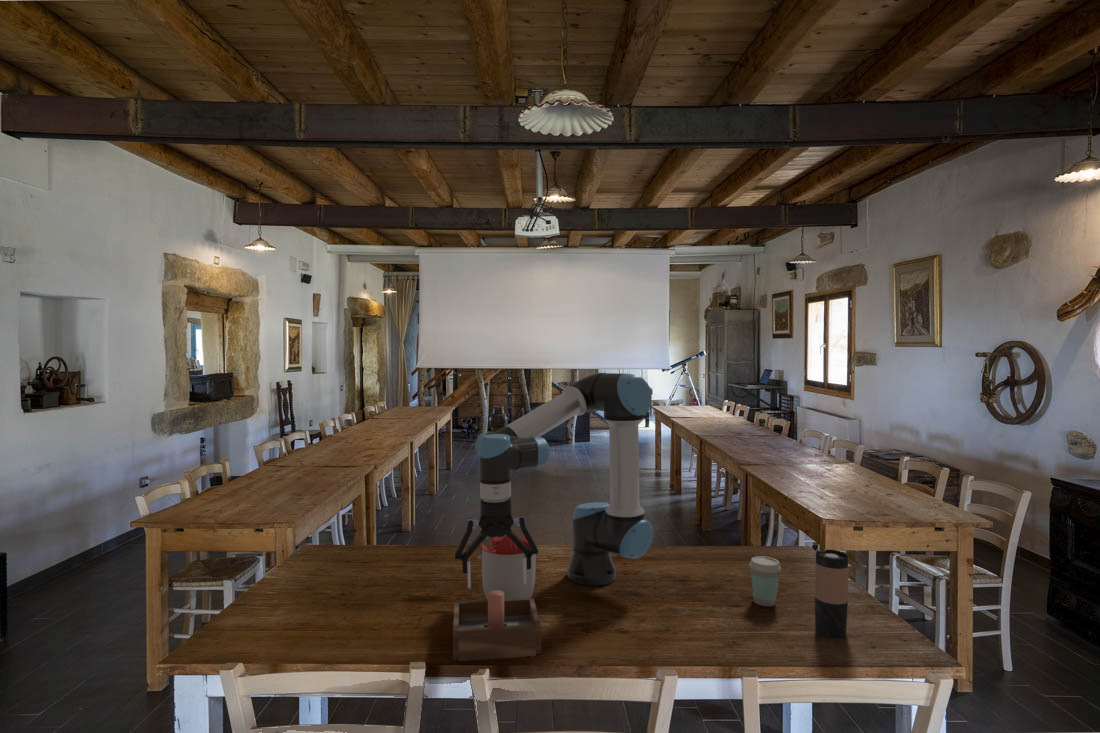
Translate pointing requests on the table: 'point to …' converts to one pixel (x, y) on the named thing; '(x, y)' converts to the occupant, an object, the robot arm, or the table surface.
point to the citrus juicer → (506, 569)
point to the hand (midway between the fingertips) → (497, 584)
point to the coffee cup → (764, 579)
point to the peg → (495, 608)
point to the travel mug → (831, 593)
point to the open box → (496, 631)
